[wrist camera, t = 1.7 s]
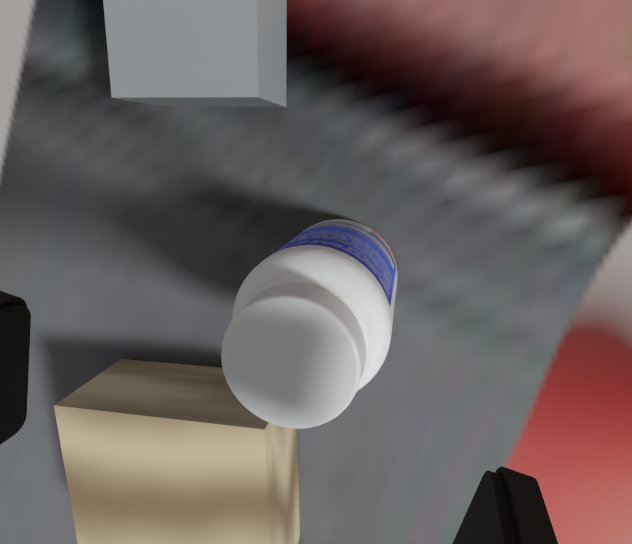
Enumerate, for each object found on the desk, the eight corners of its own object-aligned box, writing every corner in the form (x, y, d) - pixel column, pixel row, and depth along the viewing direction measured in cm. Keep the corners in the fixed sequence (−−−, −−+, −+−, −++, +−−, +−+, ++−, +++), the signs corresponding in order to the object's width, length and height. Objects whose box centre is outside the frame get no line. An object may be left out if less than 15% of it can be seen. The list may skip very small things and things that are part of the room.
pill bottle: (280, 221, 22) (178, 271, 12) (395, 213, 20) (378, 262, 11) (292, 329, 23) (208, 448, 14) (402, 328, 22) (391, 456, 12)
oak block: (300, 535, 26) (273, 621, 21) (140, 510, 28) (84, 582, 23) (295, 373, 23) (264, 429, 19) (121, 358, 26) (53, 405, 21)
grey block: (287, 107, 21) (257, 97, 17) (164, 107, 22) (111, 97, 18) (287, -46, 19) (255, -96, 15) (156, -37, 20) (96, -82, 16)
